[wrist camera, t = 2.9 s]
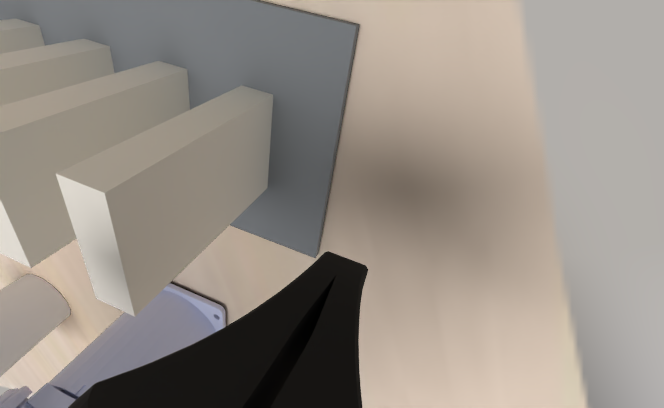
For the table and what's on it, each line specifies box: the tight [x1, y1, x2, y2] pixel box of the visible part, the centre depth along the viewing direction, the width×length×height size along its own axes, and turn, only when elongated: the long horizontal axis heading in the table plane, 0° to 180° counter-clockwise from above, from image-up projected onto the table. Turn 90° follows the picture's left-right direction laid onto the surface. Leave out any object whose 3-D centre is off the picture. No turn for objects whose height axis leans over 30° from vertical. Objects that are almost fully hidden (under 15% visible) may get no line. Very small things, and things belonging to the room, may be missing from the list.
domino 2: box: [0, 61, 190, 268], centre depth 16 cm, size 2×5×9 cm, turn 171°
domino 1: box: [0, 39, 114, 106], centre depth 16 cm, size 2×5×9 cm, turn 171°
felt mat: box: [0, 0, 359, 258], centre depth 21 cm, size 12×31×1 cm, turn 81°
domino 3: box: [56, 85, 273, 317], centre depth 15 cm, size 2×5×9 cm, turn 171°
